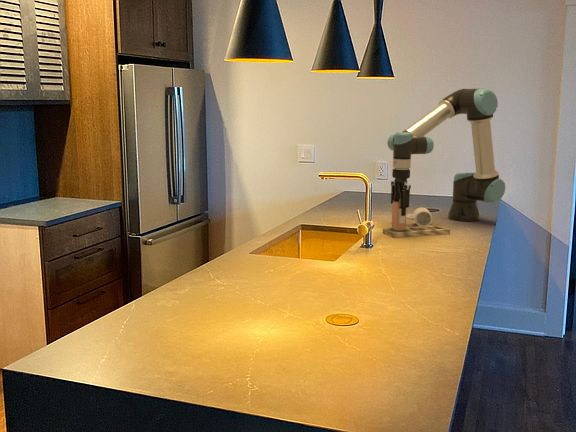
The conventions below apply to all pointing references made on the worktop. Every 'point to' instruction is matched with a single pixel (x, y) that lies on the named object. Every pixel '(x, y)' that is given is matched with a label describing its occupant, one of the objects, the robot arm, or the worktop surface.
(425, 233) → the compartment tray
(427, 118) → the robot arm
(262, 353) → the worktop surface
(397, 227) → the peg block
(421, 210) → the mug
